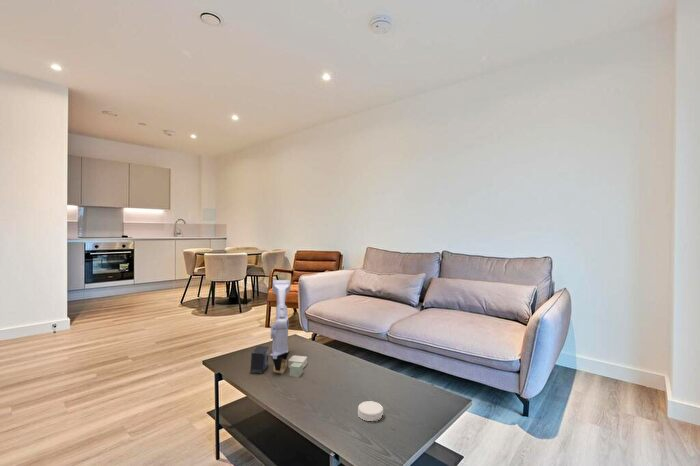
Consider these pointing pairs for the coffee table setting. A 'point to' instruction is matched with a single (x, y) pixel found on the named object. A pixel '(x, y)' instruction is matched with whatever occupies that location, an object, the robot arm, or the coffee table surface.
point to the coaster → (370, 410)
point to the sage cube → (296, 369)
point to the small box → (259, 359)
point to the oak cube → (283, 367)
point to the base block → (297, 360)
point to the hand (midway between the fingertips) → (280, 368)
